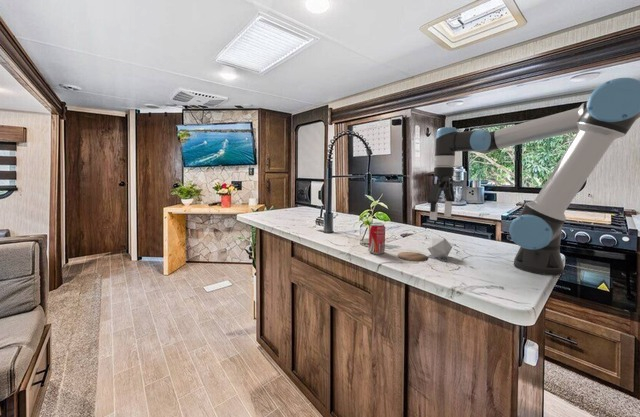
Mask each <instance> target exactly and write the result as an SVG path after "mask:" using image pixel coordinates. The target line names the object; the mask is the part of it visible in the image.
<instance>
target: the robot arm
mask: <svg viewBox="0 0 640 417" xmlns="http://www.w3.org/2000/svg"><path fill="white" fill-rule="evenodd" d="M639 118H640V80H639V79H636V78H632V77H617V78H614V79H611V80H608V81H605V82H603V83H602V84H600V85H599V86H597V87H596V88H595V89H594V90H593V91H592V92H591V93H590V95H589V97H588V98H587V101H586V102H583V103H582V104H581V105H580V106H579V107H575V108H572V109H570V110H565V111H562V112H561V111H560V112H558V113H554V114H550V115H546V116H542V117H539V118H536V119H532V120H528V121H524V122H522V123H518V124H514V125H511V126H506V127H503V128H499V129H496V130H492V131H489V130H487V129H476V130H469V131H465V130H464V131H457V128H456V127H453V126H444V127H440V128H438V129H437V130H436V135H435V148H434V149H435V150H434V151H435V154H434V159H433V161H434V163H433V164H434V166H435V167H434V168H433V176H434V177H437V178H433V179H432V183H431V187H430V190H429V195H428V198H427V203H428V204H430V205H429V206H430V207H429V220H431V221H437V220H438V211H439V210H438V209H439V208H438V207H439V204H438V202H439V199H440V197H441V194H442V191H443V194H444V198H445V201H444V211H443V212H444V213H443V214H444V216H443V217H450V218H451V217H452V209H453V202H455V201H456V196H455V191H454V190H455V189H454V179H453V178H451V177H454V171H455V168H454V166H455V163H456V162H455V161H456V152H475V153H479V154H480V153H481V154H488V153H491V152H493V151H497V150H500V149H505V148H511V147H513V146H514V147H515V146H517V145H518V146H519V145H522V144H526V143H530V142H535V141H536V142H537V141H540V140H545V139H549V138H553V137H559V136H563V135H567V134H571V133H576V132H577V133H576V134H575V135H574V138H573V139H572V140H571V142H570V143H569V145H568V147H567V148H566V150H565V151H564V153H563V154H562V156H561V158H560V160H559V161H558V162H557V165H556V166H555V167H554V169H553V170H552V172H551V174H550V175H549V177H548V178H547V180H546V182H545V183H544V185H543V186H542V188H541V189H540V191H539V193H538V194H537V196H536V197H535V199H534V200H531V201H528V202H527V203H526V204H525V205H524V206H523V208H522V210H521V211H520V213H519V214H518V216H517V217H515V218H514V219H513V220H512V222H511V223H510V225H509V232H508V233H509V236H510V238H511V240H512V241H513V243H515V244H516V245H517V246H519V248H518V251H517V253H516V255H515V257H514V259H513V266H514V267H515V268H517V269H519V270H520V271H524V272H529V273H532V274H533V273H534V274H540V275H545V276H548V275H549V276H550V275H551V276H559V275H562V274H564V272H565V270H564V269H565V265H564V263H563V262H564V261H563V259H562V255H561V251H560V250H561V249H560V248H561V239H562V233H563V232H562V231H563V225H564V223H566V221H567V218H566V215H565V212H566V210H567V209H568V208H569V206H570V204H571V203H572V202H573V200H574V199H575V197H576V196H577V195H578V193H579V192H580V190H581V189H582V187H583V186H584V184H585V183H586V181H587V179H588V178H589V177H590V176H591V174H592V173H593V171H594V170H595V168H596V167H597V165H598V164H599V162H600V161H601V160H602V158H603V156H604V155H605V154H606V152H607V151H608V149H609V148H610V147H611V145H612V143H613V142H614V141H615V140H616V139H617V140H618V139H619V138H623V137H625V136H626V135H627V133H628V132H629V131H630V129H631V128H632V126H633V125H634V123H635V122H636V120H638V119H639Z"/></svg>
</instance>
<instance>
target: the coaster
mask: <svg viewBox="0 0 640 417" xmlns="http://www.w3.org/2000/svg"><path fill="white" fill-rule="evenodd" d="M427 256H428V255H425V254H423V253H420V252H413V251H404V252H403V251H402V252H401V251H400V252H398V253H397V258H399V259H401V260H404V261H410V262H423V261H427V259H428V258H427Z"/></svg>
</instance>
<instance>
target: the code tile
mask: <svg viewBox="0 0 640 417" xmlns="http://www.w3.org/2000/svg"><path fill="white" fill-rule="evenodd" d="M426 256H427V259H433V260H437V261H440V262H446V261H448V260H450V259H452V258H453V256H449V255H448V256H447V258H434V257H433V256H432V254H431V253H430V254H429V255H426Z"/></svg>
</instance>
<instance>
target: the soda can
mask: <svg viewBox="0 0 640 417" xmlns="http://www.w3.org/2000/svg"><path fill="white" fill-rule="evenodd" d="M385 250H386V226H385V223H382V222H371V223H370V225H369V226H368V252H369V253H370V254H373V255H382V254H384V253H385Z"/></svg>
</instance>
